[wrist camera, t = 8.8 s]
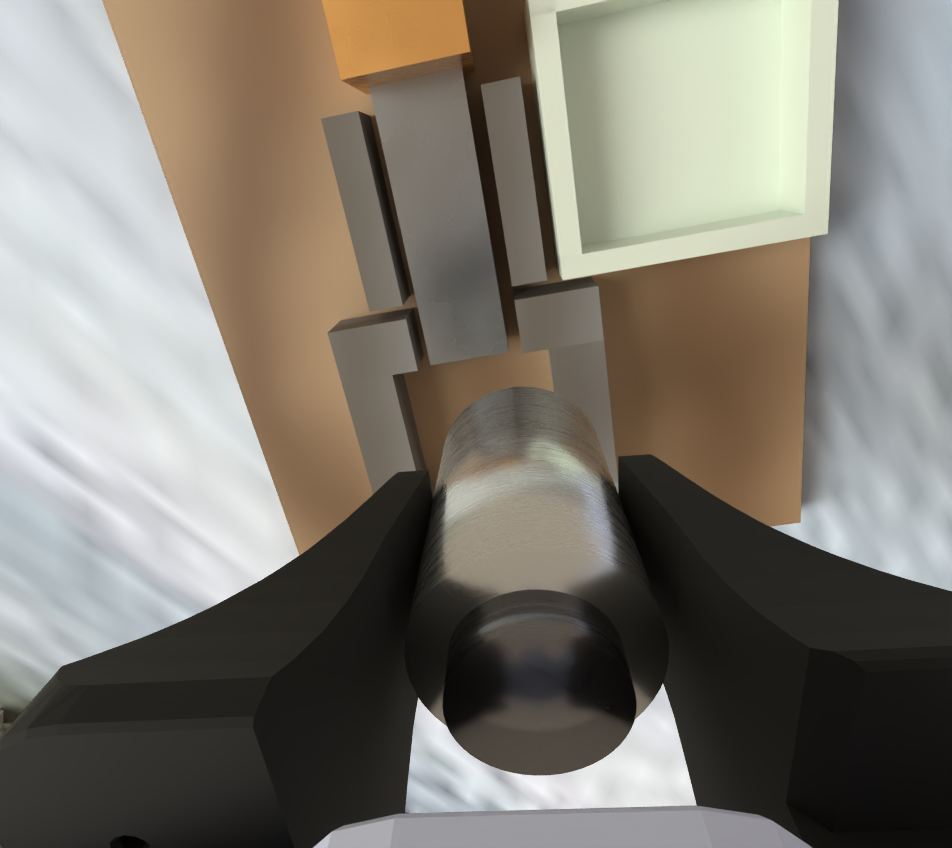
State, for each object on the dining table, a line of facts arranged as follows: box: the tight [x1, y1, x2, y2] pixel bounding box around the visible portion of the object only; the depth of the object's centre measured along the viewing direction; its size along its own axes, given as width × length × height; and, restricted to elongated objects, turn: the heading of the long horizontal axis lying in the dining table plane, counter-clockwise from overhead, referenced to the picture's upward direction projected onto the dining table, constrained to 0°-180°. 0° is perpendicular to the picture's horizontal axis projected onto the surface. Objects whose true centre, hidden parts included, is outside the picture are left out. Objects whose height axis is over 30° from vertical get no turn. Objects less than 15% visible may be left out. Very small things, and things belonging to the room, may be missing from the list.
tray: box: [523, 0, 839, 280], centre depth 16 cm, size 7×7×2 cm
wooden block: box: [322, 0, 509, 365], centre depth 16 cm, size 3×10×3 cm, turn 10°
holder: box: [102, 0, 810, 555], centre depth 18 cm, size 18×23×3 cm
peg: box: [404, 387, 670, 775], centre depth 11 cm, size 4×4×7 cm
